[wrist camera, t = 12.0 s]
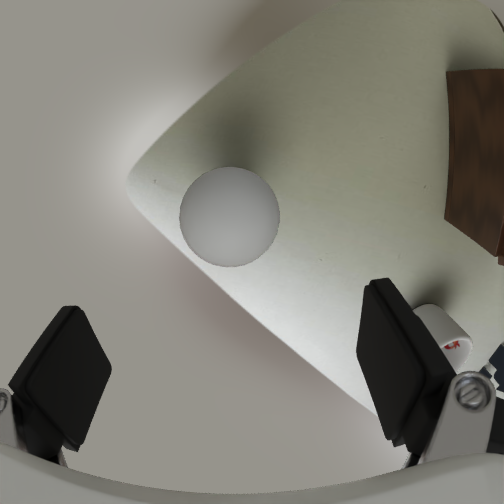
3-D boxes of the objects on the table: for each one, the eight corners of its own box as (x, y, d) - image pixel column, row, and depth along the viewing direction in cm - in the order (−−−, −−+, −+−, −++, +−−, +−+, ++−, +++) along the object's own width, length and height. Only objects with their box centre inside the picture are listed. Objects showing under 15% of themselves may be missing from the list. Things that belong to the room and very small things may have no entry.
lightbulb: (194, 157, 24) (157, 188, 14) (266, 147, 24) (279, 171, 14) (206, 223, 27) (182, 291, 17) (273, 215, 26) (289, 280, 16)
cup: (434, 348, 35) (457, 387, 28) (386, 363, 36) (405, 407, 29) (448, 288, 30) (481, 328, 23) (394, 303, 31) (423, 350, 24)
